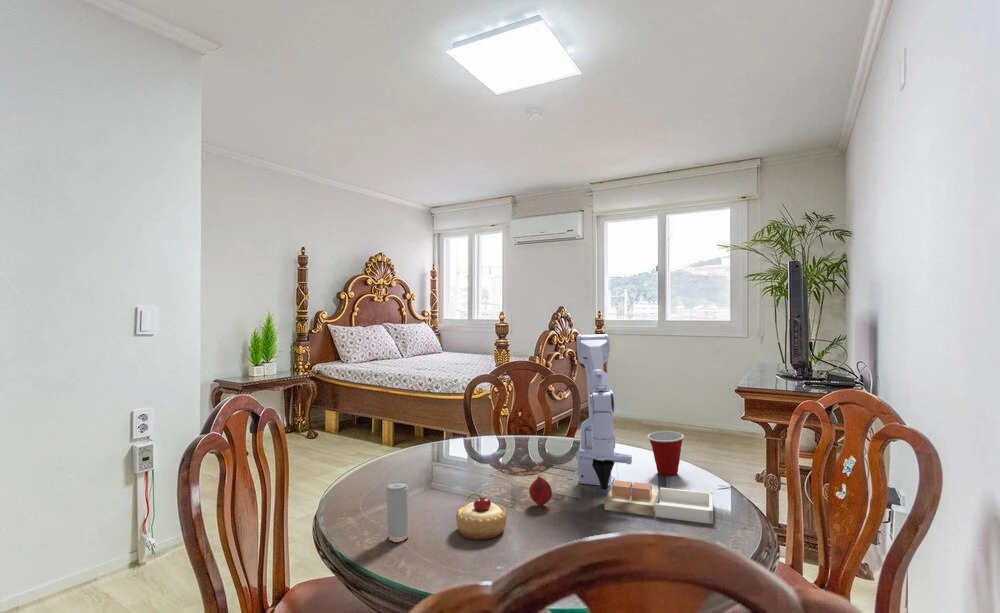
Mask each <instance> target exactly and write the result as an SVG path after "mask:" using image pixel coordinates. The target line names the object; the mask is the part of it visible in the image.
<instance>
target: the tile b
mask: <svg viewBox="0 0 1000 613" xmlns="http://www.w3.org/2000/svg"><path fill="white" fill-rule="evenodd" d="M652 489H653V484H652V483H646V482H645V483H644V482H633V483H632V498H640V499H648V500H650V499H651V496H652Z"/></svg>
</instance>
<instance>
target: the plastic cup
mask: <svg viewBox="0 0 1000 613" xmlns="http://www.w3.org/2000/svg"><path fill="white" fill-rule="evenodd" d="M684 438H685V435H684V434H683V433H681V432H678V431H671V430H666V431H665V430H661V431H654V432H651V433H649V434H648V435H647V439H648V440H649V441H650V445H651V448H652V453H653V457H654V462H655V465H656V466H655V468H656V470H657V474H658V475H661V476H664V477H673V476H677V475H678V472H679V466H680V459H681V452H682V446H683V440H684Z"/></svg>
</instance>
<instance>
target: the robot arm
mask: <svg viewBox="0 0 1000 613" xmlns="http://www.w3.org/2000/svg"><path fill="white" fill-rule="evenodd" d="M610 348H611V345H610V336H609V335H608V333H603V334H577V336H576V353H577V354H576V355H577V360H578V363H579V364H582V365H583V366H584V368H585V372H586V383H587V384H586V385H587V386H586V387H587V388H586V389H587V401H588V418H586V419H585V420H583V421H582V422H581V425H580V445H581V446H580V447H581V450H576V451H575V460H576V461H577V469H578V470H577V472H578V475H577V476H578V479H577V480H578V481H577V484H582V485H583V484H584V485H595V486H600V489H601V490H602V491H608V489H609V487H612V484H613V483H614V481H615V480H616V477H615V476H612V470H613V468H614V465H615V464H616V463H619V464H627V465H632V463H633V460H632V459H633V457H632V454H624V453H620V452H615V448H616V435H615V429H614V413H615V406H616V404H615V397H614V393H613V391H612V388H611V387H610V380H609V374H608V373H607V372H606V371H604V364H605V363H607V362H608V359H609V357H610V350H611V349H610Z"/></svg>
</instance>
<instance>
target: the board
mask: <svg viewBox="0 0 1000 613" xmlns="http://www.w3.org/2000/svg"><path fill="white" fill-rule="evenodd" d="M659 502H660V489H657V488H652V496H651V499H650V500H648V499H640V498H632V494H631V496H630V497H622V496H614V495H612V487H611V488H610V489H609V491H608V493H607V494H606V496H605V498H604V503H603V504H604V510H605V511H612V512H619V513H620V512H621V513H627V514H636V515H642V516H651V517H654V516H655V515H656V514H655V503H659Z"/></svg>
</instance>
